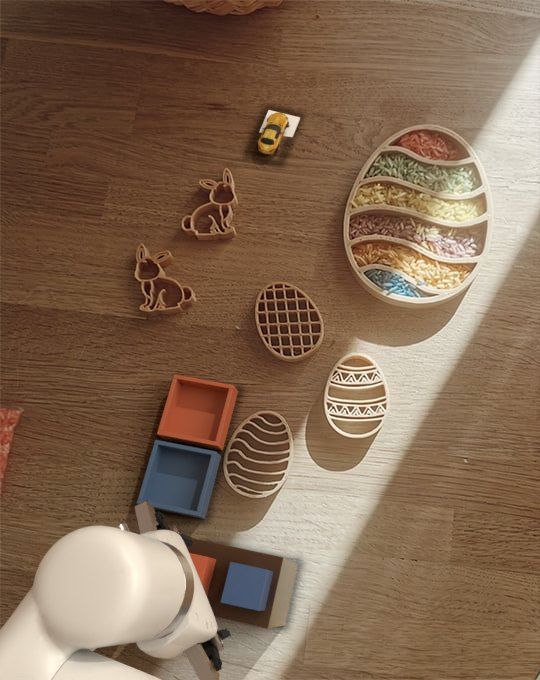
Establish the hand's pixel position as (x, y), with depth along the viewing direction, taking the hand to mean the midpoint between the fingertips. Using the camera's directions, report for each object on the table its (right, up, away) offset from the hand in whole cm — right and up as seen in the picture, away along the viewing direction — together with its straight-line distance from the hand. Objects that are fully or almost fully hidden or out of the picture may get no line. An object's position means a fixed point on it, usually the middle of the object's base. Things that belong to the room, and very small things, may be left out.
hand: (196, 592), depth 73 cm
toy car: (+3, +60, +53) cm, 80 cm away
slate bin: (-8, +5, +34) cm, 35 cm away
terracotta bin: (-6, +14, +37) cm, 40 cm away
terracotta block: (-3, -3, +14) cm, 14 cm away
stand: (+1, -9, +28) cm, 29 cm away
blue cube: (+4, -4, +13) cm, 14 cm away
